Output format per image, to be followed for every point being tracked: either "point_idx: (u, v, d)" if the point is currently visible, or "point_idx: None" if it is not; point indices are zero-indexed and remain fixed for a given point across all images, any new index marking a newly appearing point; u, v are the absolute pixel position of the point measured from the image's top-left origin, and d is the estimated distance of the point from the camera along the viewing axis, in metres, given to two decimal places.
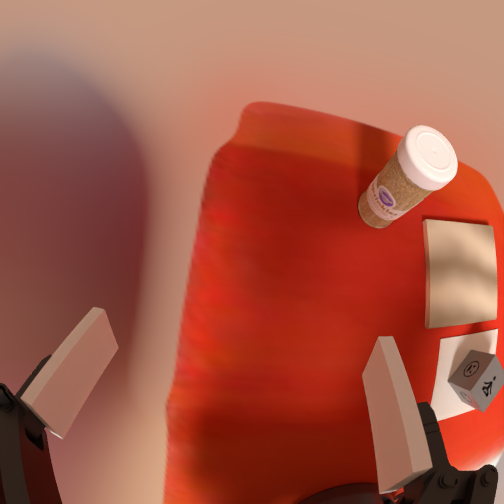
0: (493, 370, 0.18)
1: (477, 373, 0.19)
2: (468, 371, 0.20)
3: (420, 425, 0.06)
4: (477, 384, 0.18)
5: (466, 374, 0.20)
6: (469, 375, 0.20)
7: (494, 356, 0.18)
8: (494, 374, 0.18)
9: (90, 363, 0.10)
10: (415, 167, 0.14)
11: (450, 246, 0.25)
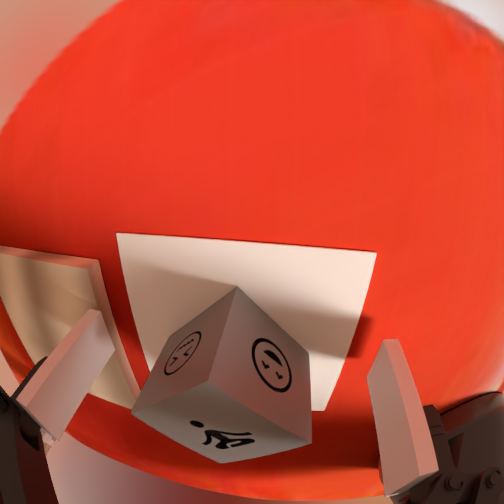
0: (171, 424, 0.08)
1: None
2: None
3: (426, 428, 0.06)
4: (205, 453, 0.09)
5: None
6: None
7: (135, 414, 0.09)
8: (184, 423, 0.08)
9: (86, 365, 0.10)
10: None
11: (40, 351, 0.15)
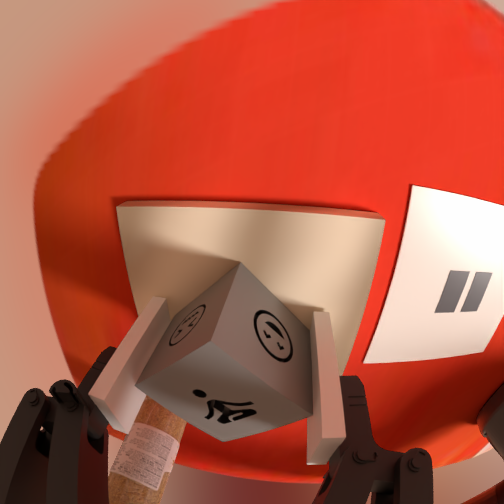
0: (175, 396, 0.09)
1: None
2: None
3: (340, 394, 0.08)
4: (208, 430, 0.10)
5: None
6: None
7: (139, 387, 0.09)
8: (187, 393, 0.09)
9: None
10: None
11: None
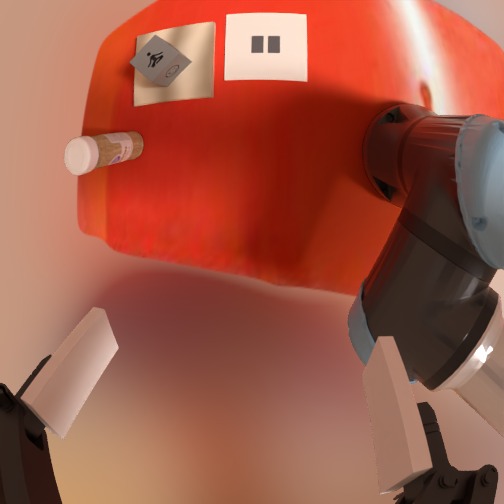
0: (141, 59, 0.25)
1: None
2: None
3: (420, 424, 0.06)
4: (147, 75, 0.26)
5: None
6: None
7: (130, 63, 0.25)
8: (145, 55, 0.25)
9: (90, 363, 0.10)
10: (87, 169, 0.25)
11: None
